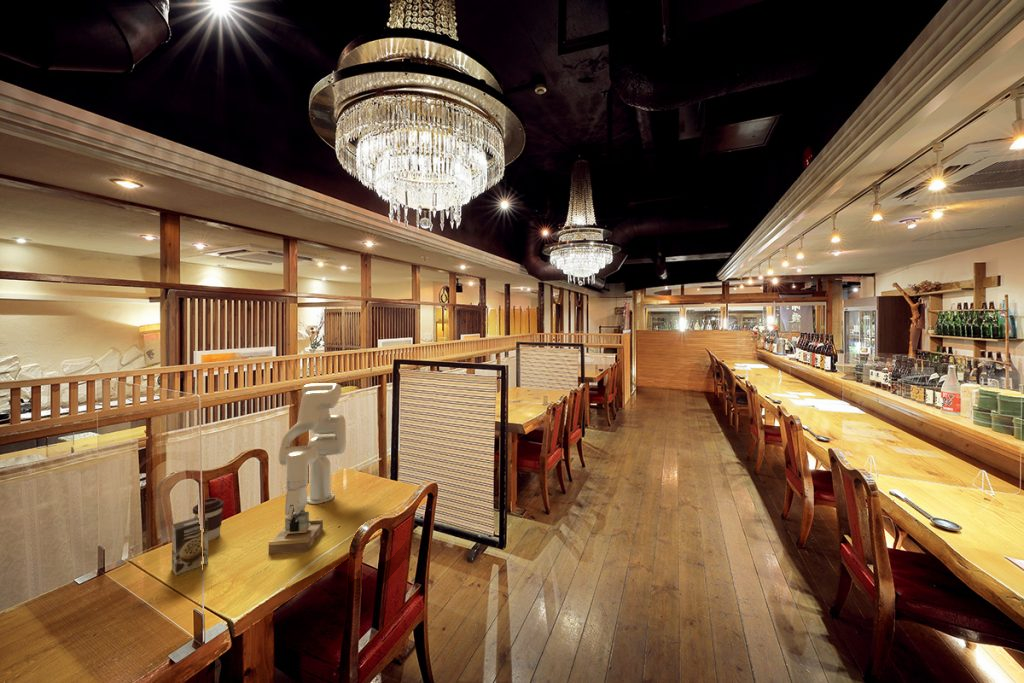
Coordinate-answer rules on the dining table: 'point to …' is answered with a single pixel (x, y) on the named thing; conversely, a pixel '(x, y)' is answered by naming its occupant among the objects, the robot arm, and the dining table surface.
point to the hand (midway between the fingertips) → (297, 527)
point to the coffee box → (188, 545)
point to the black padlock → (303, 523)
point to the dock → (296, 539)
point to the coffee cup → (212, 516)
